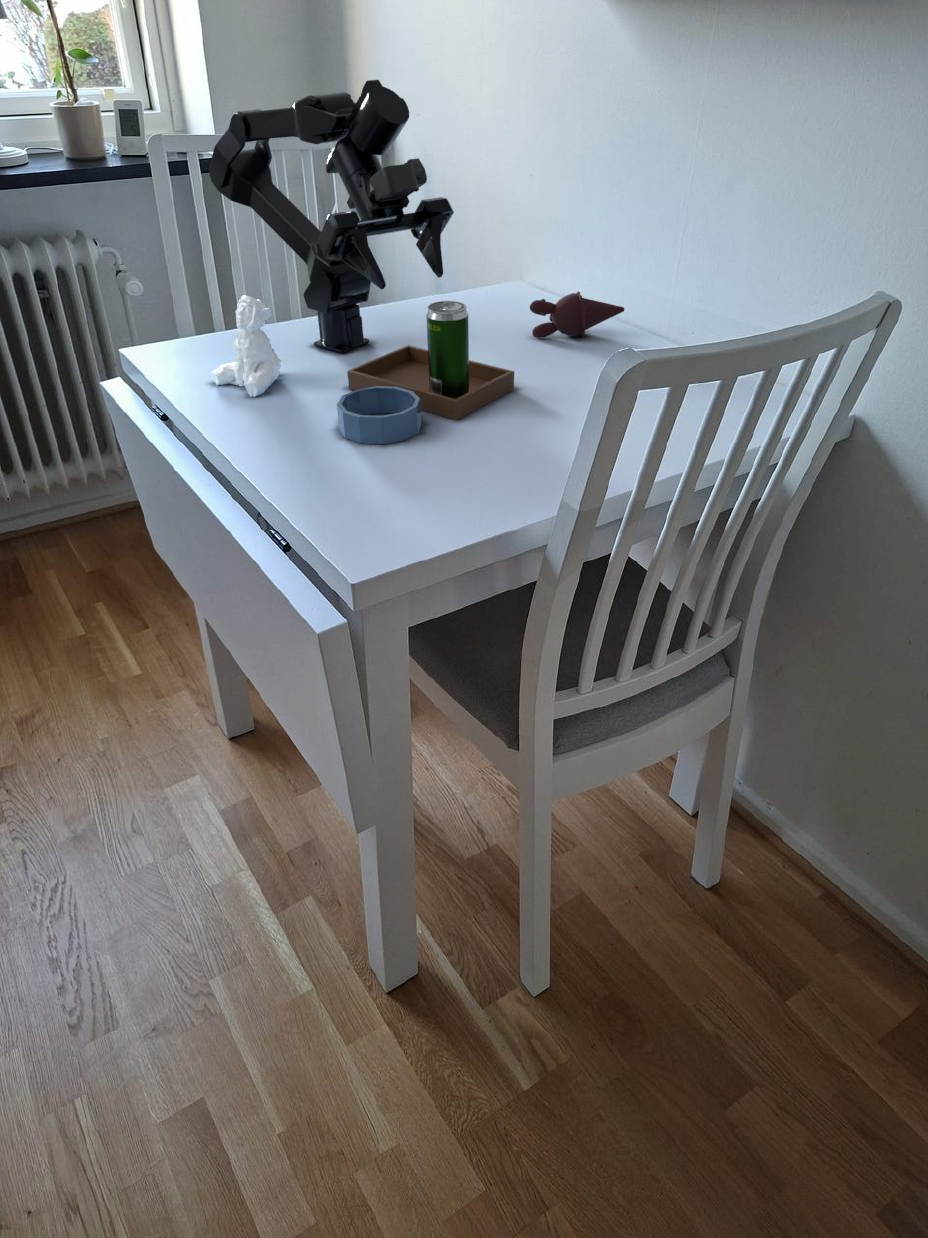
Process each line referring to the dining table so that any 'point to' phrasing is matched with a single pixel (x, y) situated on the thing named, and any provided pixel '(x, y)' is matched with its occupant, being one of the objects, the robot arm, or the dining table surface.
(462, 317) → the beer can
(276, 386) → the dining table surface
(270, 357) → the white creature statuette
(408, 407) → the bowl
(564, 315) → the icecream
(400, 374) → the tray
